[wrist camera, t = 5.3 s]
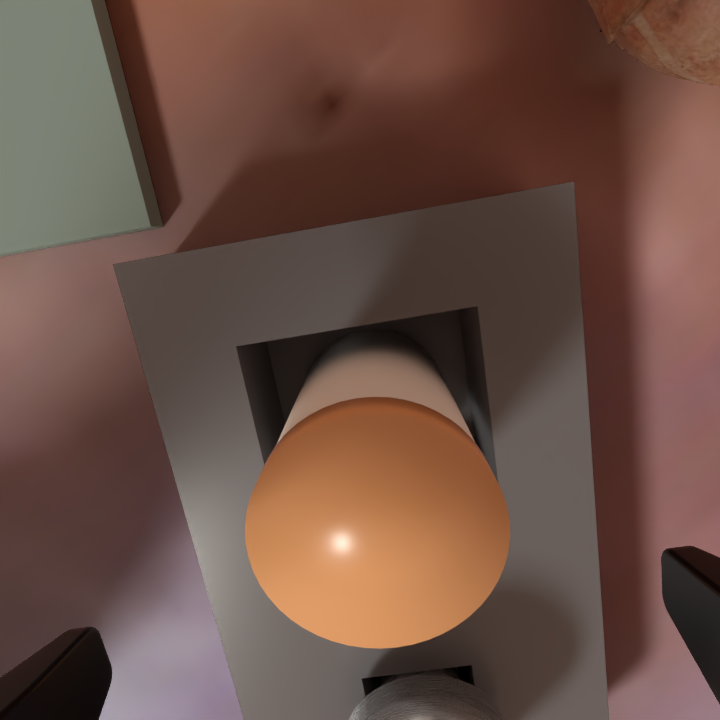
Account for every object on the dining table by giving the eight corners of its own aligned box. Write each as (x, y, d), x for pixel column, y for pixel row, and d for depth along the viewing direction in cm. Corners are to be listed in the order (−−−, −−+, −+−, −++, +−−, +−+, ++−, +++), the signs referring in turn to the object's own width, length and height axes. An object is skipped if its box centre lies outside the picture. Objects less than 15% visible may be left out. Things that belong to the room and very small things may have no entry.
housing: (299, 753, 22) (285, 862, 19) (171, 256, 17) (113, 264, 13) (572, 722, 22) (616, 829, 18) (526, 192, 16) (574, 181, 13)
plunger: (362, 693, 21) (357, 905, 14) (339, 587, 20) (323, 766, 13) (487, 678, 21) (541, 887, 14) (472, 569, 19) (524, 743, 13)
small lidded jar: (317, 475, 19) (275, 662, 10) (288, 341, 17) (217, 436, 9) (455, 454, 18) (522, 631, 10) (436, 316, 17) (495, 393, 9)
